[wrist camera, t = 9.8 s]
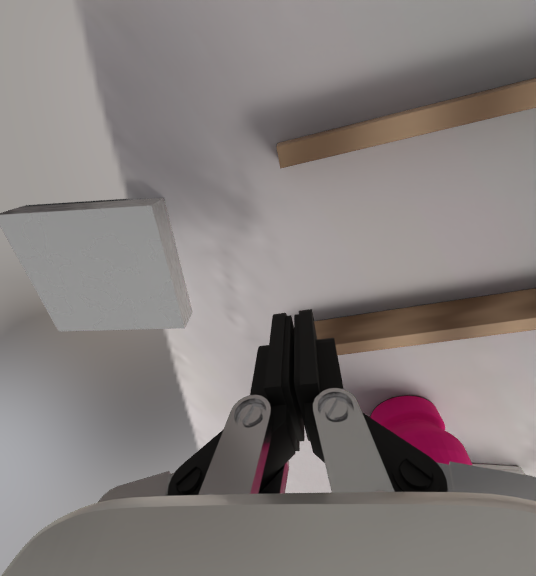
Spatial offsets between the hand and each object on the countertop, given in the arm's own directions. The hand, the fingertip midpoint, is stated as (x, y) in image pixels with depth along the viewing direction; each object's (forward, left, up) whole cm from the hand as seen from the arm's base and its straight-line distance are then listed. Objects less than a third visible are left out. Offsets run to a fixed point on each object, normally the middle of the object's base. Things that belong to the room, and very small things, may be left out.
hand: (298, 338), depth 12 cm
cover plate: (+13, -2, -9) cm, 16 cm away
